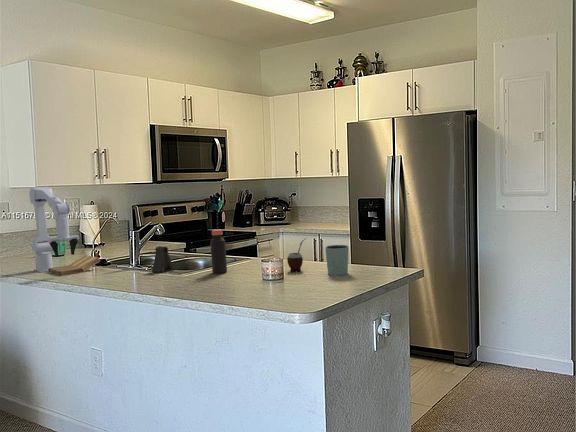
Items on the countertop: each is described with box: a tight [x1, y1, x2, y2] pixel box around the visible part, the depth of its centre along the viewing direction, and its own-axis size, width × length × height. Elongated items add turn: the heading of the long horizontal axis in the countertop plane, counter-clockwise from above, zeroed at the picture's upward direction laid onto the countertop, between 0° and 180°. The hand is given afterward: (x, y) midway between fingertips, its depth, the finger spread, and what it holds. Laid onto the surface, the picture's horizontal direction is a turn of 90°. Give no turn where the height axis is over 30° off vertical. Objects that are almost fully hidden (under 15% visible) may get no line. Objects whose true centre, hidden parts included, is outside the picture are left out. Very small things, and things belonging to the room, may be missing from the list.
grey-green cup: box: [325, 244, 350, 277], centre depth 246 cm, size 10×10×12 cm
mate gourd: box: [287, 237, 307, 273], centre depth 258 cm, size 8×8×15 cm
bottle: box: [210, 228, 228, 275], centre depth 265 cm, size 7×7×20 cm
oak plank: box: [67, 254, 101, 273], centre depth 296 cm, size 18×10×2 cm, turn 43°
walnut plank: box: [47, 264, 83, 277], centre depth 289 cm, size 18×10×2 cm, turn 43°
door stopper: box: [151, 245, 175, 274], centre depth 278 cm, size 9×6×12 cm, turn 139°
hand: (64, 255), depth 277 cm, fingers open, 7 cm apart
